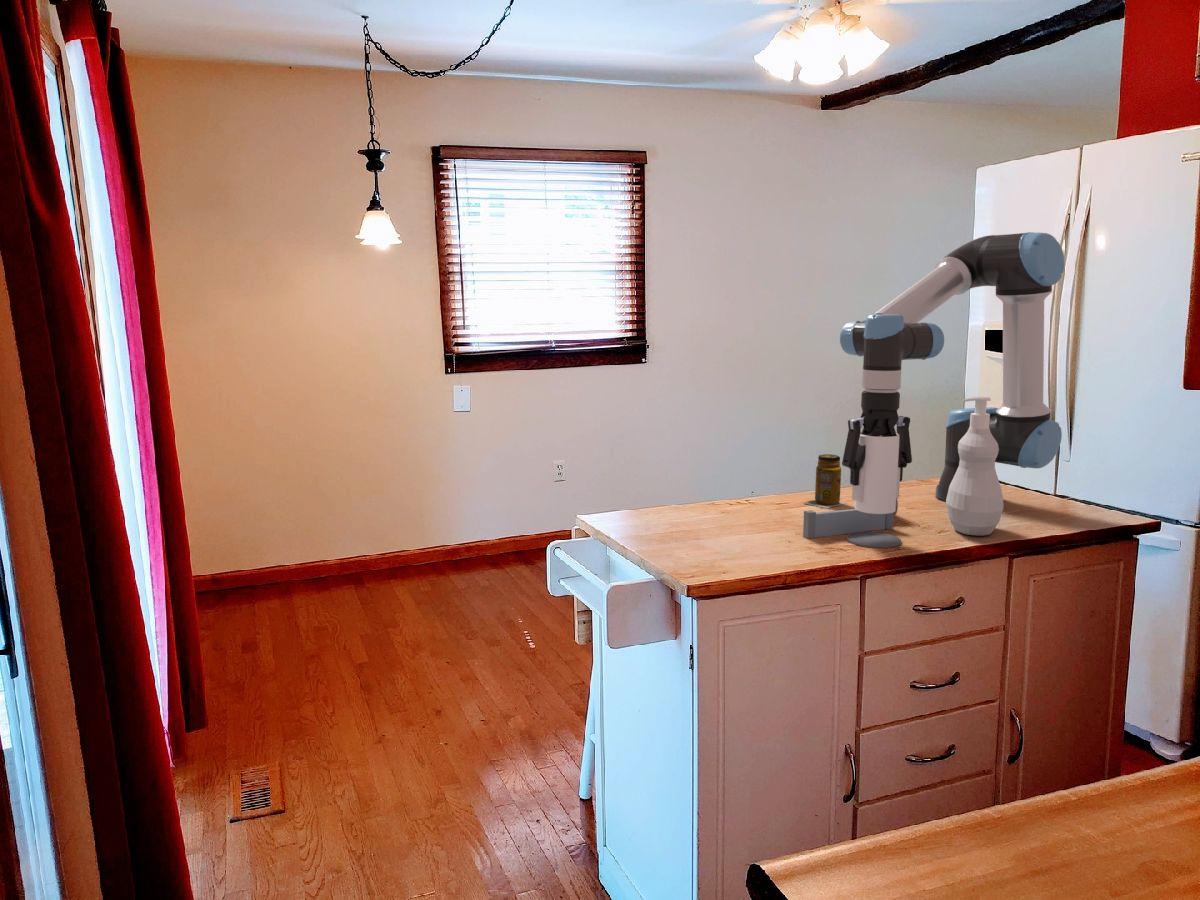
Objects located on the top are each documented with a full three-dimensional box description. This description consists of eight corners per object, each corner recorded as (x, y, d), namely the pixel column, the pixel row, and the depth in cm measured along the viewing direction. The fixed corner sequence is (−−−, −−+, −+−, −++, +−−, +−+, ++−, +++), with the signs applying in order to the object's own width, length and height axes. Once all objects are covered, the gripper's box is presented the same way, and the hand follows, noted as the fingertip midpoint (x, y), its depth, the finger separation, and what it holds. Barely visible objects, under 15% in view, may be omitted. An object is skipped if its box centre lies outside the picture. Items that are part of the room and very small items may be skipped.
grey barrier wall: (887, 526, 199) (888, 502, 198) (892, 528, 198) (893, 504, 197) (803, 536, 192) (803, 511, 191) (807, 538, 190) (808, 512, 189)
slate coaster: (879, 531, 195) (879, 530, 195) (912, 544, 185) (912, 542, 185) (836, 536, 191) (836, 534, 191) (868, 550, 181) (868, 548, 181)
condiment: (846, 503, 222) (848, 455, 220) (828, 508, 217) (830, 460, 215) (821, 498, 228) (823, 452, 226) (802, 504, 222) (804, 456, 220)
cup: (881, 516, 181) (885, 438, 179) (846, 509, 187) (850, 433, 185) (903, 509, 187) (907, 434, 184) (868, 503, 193) (872, 429, 190)
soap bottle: (941, 520, 205) (948, 392, 200) (995, 523, 202) (1004, 393, 197) (947, 539, 189) (956, 401, 184) (1007, 543, 186) (1017, 402, 181)
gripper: (911, 386, 190) (905, 491, 194) (826, 390, 183) (822, 498, 187) (935, 390, 183) (928, 498, 187) (848, 394, 176) (843, 506, 180)
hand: (875, 498), depth 187 cm, fingers closed on cup, 8 cm apart
